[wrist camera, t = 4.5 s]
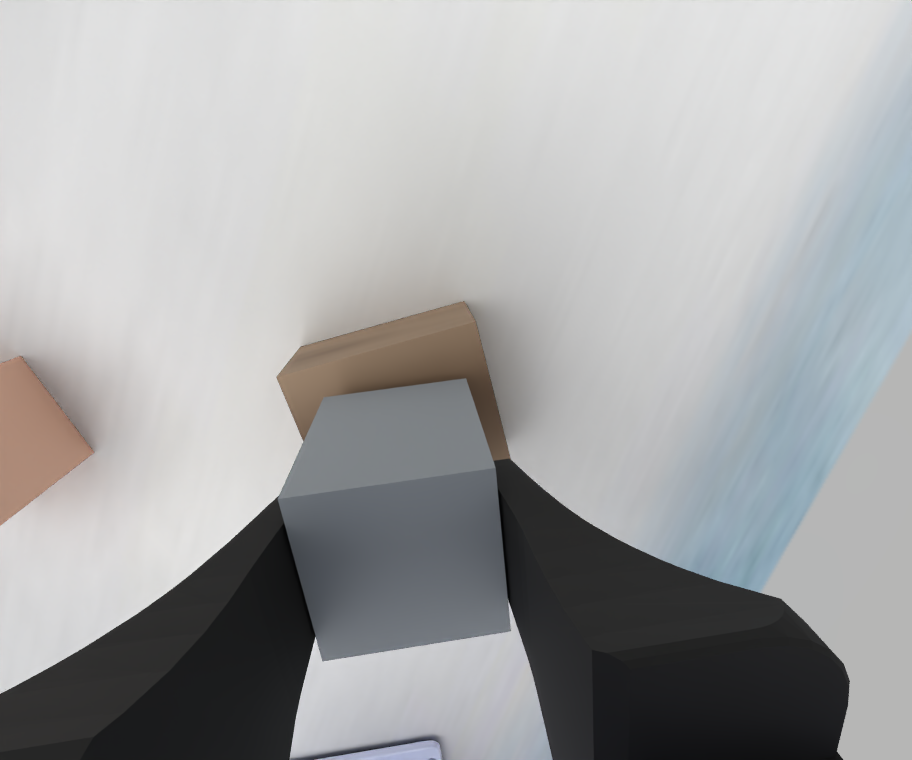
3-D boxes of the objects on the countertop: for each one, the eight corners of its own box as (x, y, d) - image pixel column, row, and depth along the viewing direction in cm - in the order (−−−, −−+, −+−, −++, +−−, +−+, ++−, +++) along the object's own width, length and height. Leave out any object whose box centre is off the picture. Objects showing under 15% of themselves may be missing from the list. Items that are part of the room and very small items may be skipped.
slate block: (479, 498, 15) (510, 631, 10) (350, 517, 15) (322, 661, 10) (465, 378, 14) (495, 468, 9) (323, 397, 13) (277, 499, 9)
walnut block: (500, 444, 19) (518, 492, 16) (356, 484, 19) (345, 540, 16) (463, 299, 17) (475, 321, 14) (302, 344, 17) (276, 377, 14)
